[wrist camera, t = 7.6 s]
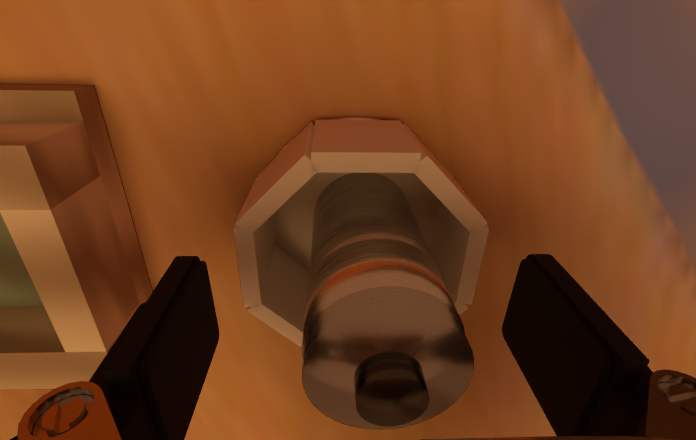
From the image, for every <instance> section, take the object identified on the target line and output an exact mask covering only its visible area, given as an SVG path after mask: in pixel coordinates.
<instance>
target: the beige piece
mask: <svg viewBox="0 0 696 440" xmlns="http://www.w3.org/2000/svg"><path fill="white" fill-rule="evenodd" d="M350 173H377V174H380V175H383V176H385V177H387V178H389V179H391V180H392V181H394V182H395V183H396V184H397V185H398V186H399V187H400V188H401V190H402V191H403V193H404V194H405V196H406V199H407V201H408V203H409V206H410V208H411V210H412V213H413V215H414V217H415V220H416V222H417V224H418V226H419V229H420V231H421V233H422V236H423V238H424V240H425V243H426V245H427V247H428V250H429V252H430V254H431V257H432V259H433V261H434V262H435V264H436V266H437V267H438V269H439V271H440V273H441V275H442V278H443V280H444V282H445V284H446V287H447V289H448V291H449V294H450V296H451V298H452V300H453V303H454V305H455V307H456V310H457V312H458V314H459V315H460V314H462V313H463V312H465V311H466V310H468V309H469V307H468V305H470V304H472V303H473V299H474V294H475V290H476V285H477V281H478V277H479V272H480V268H481V263H482V259H483V255H484V250H485V246H486V241H487V237H488V232H489V227H488V226H487V224H488V222H487V221H486V220H485V218H484V217H483V216H482V215H481V213H480V212H479V211H478V209H477V208H476V207H475V205H474V204H473V203H472V201H471V200H470V199H469V198H468V196H467V195H466V194H465V192H464V191H463V190H462V188H461V187H460V186H459V184H458V183H457V182H456V181H455V179H454V178H453V177H452V176H451V175H450V173H449V172H448V171H447V170H446V169H445V168H444V167H443V166H442V164H441V163H440V162H439V161H438V160H437V159H436V158H435V157H434V155H433V154H432V153H431V152H430V151H429V149H428V148H427V147H426V146H425V145H424V144H423V143H422V142H421V141H420V140H419V139H418V137H417V136H416V135H415V134H414V133H413V132H412V131H411V130H410V128H409V127H408V126H407V125H406V124H405V123H403V124H402V123H401V122H400V121H397V120H380V119H376V118H371V117H359V116H354V117H341V118H336V119H331V120H316V122H315V125H314V124H313V123H312V122H310V123H309V124H308V125H307V126H306V127H305V128H304V129H303V130H302V131H301V132H300V133H299V134H298V135H296V136H295V137H294V138H292V139H291V140H290V141H289V142H288V143H287V144H286V145H285V146H284V147H283V148H282V149H281V150H280V151H279V153H278V154H277V155H276V156H275V158H274V160H273V161H272V162H271V163H270V164H269V165H268V166H267V167H266V168H265V169H264V170H263V171H262V172H261V173H260V174H259V175H258V176H257V177H256V179H255V181H254V183H253V185H252V188H251V190H250V192H249V194H248V196H247V198H246V200H245V203H244V205H243V207H242V209H241V211H240V213H239V215H238V218H237V220H236V222H235V225H234V227H233V234H234V241H235V248H236V255H237V262H238V269H239V276H240V283H241V290H242V297H243V304H244V307H248V309H247V312H249V313H250V314H252V315H253V316H255V317H256V318H258V319H259V320H261V321H262V322H264V323H265V324H267V325H268V326H270V327H271V328H273V329H274V330H276V331H277V332H278V333H280V334H281V335H283V336H284V337H286V338H287V339H289V340H290V341H292V342H293V343H295V344H296V345H298V346H299V347H301V348H302V340H303V328H304V315H305V303H306V291H307V286H308V283H309V274H310V260H311V247H312V234H313V220H314V209H315V205H316V202H317V200H318V198H319V196H320V194H321V193H322V191H323V190H324V189H325V188H326V187H327V186H328V185H329V184H330V183H331V182H333V181H334V180H336V179H337V178H339V177H341V176H344V175H346V174H350Z"/></svg>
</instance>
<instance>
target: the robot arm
mask: <svg viewBox="0 0 696 440" xmlns="http://www.w3.org/2000/svg"><path fill="white" fill-rule="evenodd" d="M502 333H503V337H504V339H505V341H506V343H507V345H508V347H509V348H510V350H511V352H512V354H513V356H514V358H515V359H516V361H517V363H518V365H519V367H520V369H521V371H522V372H523V374H524V376H525V378H526V380H527V382H528V384H529V385H530V387H531V389H532V391H533V393H534V395H535V397H536V398H537V400H538V402H539V404H540V406H541V408H542V410H543V411H544V413H545V415H546V417H547V419H548V421H549V422H550V424H551V426H552V428H553V430H554V432H555V434H556V435H557V436H552V437H506V438H461V439H423V440H696V378H694V377H692V376H690V375H687V374H684V373H681V372H678V371H673V370H658V371H656V372H654V373H653V372H652V371H651V370H650V369H649V367H648V366H647V365H648V363H649V360H648V359H647V358H646V356H645V355H644V354H643V353H642V352H641V351H640V350H639V349H638V348H637V347H636V346H635V345H634V344H633V342H632V341H631V340H630V339H629V338H628V337H627V336H626V335H625V334H624V333H623V332H622V331H621V330H620V328H619V327H618V326H617V325H616V324H615V323H614V322H613V321H612V320H611V319H610V318H609V317H608V316H607V314H606V313H605V312H604V311H603V310H602V309H601V308H600V307H599V306H598V305H597V304H596V303H595V302H594V300H593V299H592V298H591V297H590V296H589V295H588V294H587V293H586V292H585V291H584V290H583V289H582V288H581V286H580V285H579V284H578V283H577V282H576V281H575V280H574V279H573V278H572V277H571V276H570V275H569V274H568V272H567V271H566V270H565V269H564V268H563V267H562V266H561V265H560V264H559V263H558V262H557V261H556V260H555V258H554V257H553V256H551V255H549V254H530V255H528V256H527V257H526V259H523V260H522V261H521V263H520V266H519V269H518V273H517V276H516V280H515V283H514V287H513V290H512V294H511V297H510V301H509V304H508V308H507V311H506V315H505V318H504V322H503V326H502ZM218 339H219V328H218V323H217V317H216V312H215V307H214V302H213V296H212V291H211V286H210V281H209V275H208V270H207V265H206V263H205V261H200V259H199V257H197V256H177V257H175V259H174V260H173V262H172V263H171V265H170V266H169V268H168V269H167V271H166V272H165V274H164V275H163V277H162V278H161V280H160V282H159V283H158V285H157V286H156V288H155V289H154V291H153V292H152V294H151V295H150V297H149V299H148V300H147V302H144V303H142V304H141V305H140V306H139V307H138V308H137V310H136V311H135V313H134V314H133V316H132V317H131V319H130V320H129V322H128V323H127V325H126V326H125V328H124V329H123V331H122V332H121V334H120V335H119V337H118V338H117V340H116V341H115V343H114V344H113V346H112V347H111V349H110V350H109V352H108V353H107V355H106V356H105V358H104V359H103V361H102V362H101V364H100V365H99V367H98V368H97V370H96V371H95V373H94V374H93V376H92V377H91V379H90V380H89V382H88V381H78V382H73V383H68V384H65V385H63V386H60V387H58V388H55V389H54V390H52V391H50V392H48V393H47V394H45V395H43V396H42V397H41V398H40V399H38V400H37V401H36V402H35V403H33V404H32V405H31V407H30V408H29V409H28V410H27V411H26V412H25V413H24V415H23V417H22V419H21V421H20V423H19V425H18V433H17V434H18V435H17V436H16V437H14V438H12V439H10V440H184V438H185V436H186V433H187V430H188V427H189V424H190V421H191V418H192V415H193V413H194V410H195V407H196V404H197V401H198V398H199V395H200V392H201V390H202V387H203V384H204V381H205V378H206V375H207V372H208V369H209V367H210V364H211V361H212V358H213V355H214V352H215V349H216V346H217V344H218Z"/></svg>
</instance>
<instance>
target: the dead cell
mask: <svg viewBox="0 0 696 440" xmlns="http://www.w3.org/2000/svg"><path fill="white" fill-rule="evenodd" d="M302 356H303V367H302V382H303V387H304V390H305V393H306V395H307V397H308V398H309V400H310V401H311V403H312V404H313V405H314V406H315V407H316V408H317V409H318V410H319V411H320V412H322V413H323V414H325V415H326V416H327V417H329V418H331V419H333V420H335V421H337V422H340V423H342V424H345V425H349V426H352V427H358V428H363V429H382V430H383V429H395V428H401V427H406V426H410V425H414V424H417V423H420V422H423V421H425V420H428V419H430V418H432V417H434V416H436V415H438V414H440V413H441V412H443V411H444V410H446V409H447V408H449V407H450V406H451V405H452V404H454V403H455V402H456V401H457V400H458V399H459V398H460V397H461V395H462V394H463V393H464V391H465V390H466V389H467V387H468V385H469V383H470V381H471V378H472V375H473V370H474V357H473V353H472V350H471V347H470V345H469V343H468V340H467V338H466V336H465V331H464V326H463V323H462V321H461V319H460V316H459V314H458V312H457V310H456V307H455V305H454V303H453V300H452V298H451V296H450V294H449V291H448V289H447V287H446V284H445V282H444V280H443V278H442V275H441V273H440V271H439V269H438V267H437V266H436V264H435V262H434V261H433V259H432V257H431V254H430V252H429V250H428V247H427V245H426V243H425V240H424V238H423V236H422V233H421V231H420V229H419V226H418V224H417V222H416V220H415V217H414V215H413V213H412V210H411V208H410V206H409V203H408V201H407V199H406V196H405V194H404V193H403V191H402V190H401V188H400V187H399V186H398V185H397V184H396V183H395V182H394V181H392V180H391V179H389V178H387V177H385V176H383V175H380V174H377V173H350V174H346V175H344V176H341V177H339V178H337V179H336V180H334V181H333V182H331V183H330V184H329V185H328V186H327V187H326V188H325V189H324V190H323V191H322V193H321V194H320V196H319V198H318V200H317V202H316V205H315V209H314V220H313V234H312V247H311V260H310V274H309V283H308V286H307V291H306V303H305V315H304V328H303V340H302Z"/></svg>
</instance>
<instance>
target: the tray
mask: <svg viewBox="0 0 696 440" xmlns="http://www.w3.org/2000/svg"><path fill="white" fill-rule="evenodd" d="M152 292H153V291H152V288H151V284H150V281H149V277H148V274H147V270H146V267H145V263H144V260H143V256H142V253H141V249H140V246H139V242H138V239H137V235H136V231H135V228H134V224H133V221H132V217H131V214H130V210H129V207H128V203H127V200H126V196H125V193H124V189H123V186H122V182H121V179H120V175H119V172H118V168H117V165H116V161H115V158H114V154H113V151H112V147H111V144H110V140H109V137H108V133H107V129H106V126H105V122H104V119H103V115H102V112H101V108H100V105H99V101H98V98H97V94H96V91H95V87H94V85H40V84H0V389H49V388H58V387H60V386H63V385H65V384H68V383H73V382H78V381H88V382H89V380H90V379H91V377H92V376H93V374H94V373H95V371H96V370H97V368H98V367H99V365H100V364H101V362H102V361H103V359H104V358H105V356H106V355H107V353H108V352H109V350H110V349H111V347H112V346H113V344H114V343H115V341H116V340H117V338H118V337H119V335H120V334H121V332H122V331H123V329H124V328H125V326H126V325H127V323H128V322H129V320H130V319H131V317H132V316H133V314H134V313H135V311H136V310H137V308H138V307H139V306H140V305H141V304H142V303H144V302H147V300H148V299H149V297H150V295H151V294H152Z"/></svg>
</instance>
